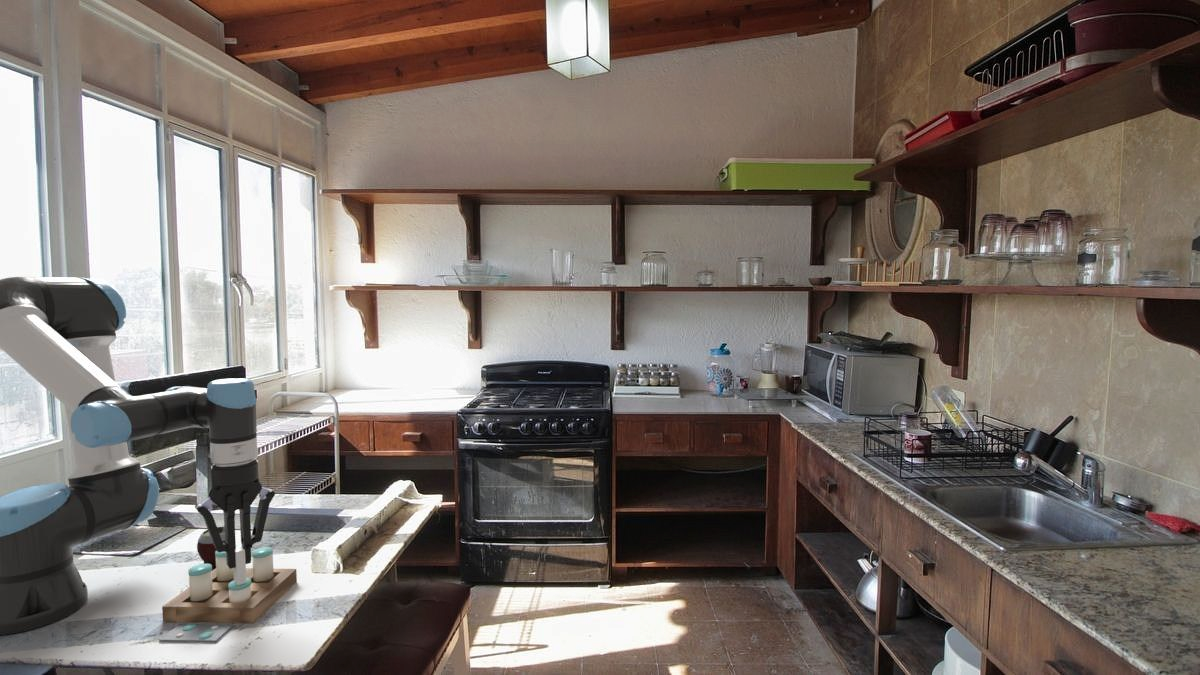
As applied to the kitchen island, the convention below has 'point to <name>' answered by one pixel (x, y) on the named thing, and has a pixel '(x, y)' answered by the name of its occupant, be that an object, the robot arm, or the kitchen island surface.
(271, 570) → the button
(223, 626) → the card
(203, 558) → the mate gourd
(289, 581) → the board
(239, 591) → the button
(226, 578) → the button
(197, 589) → the button
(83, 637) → the kitchen island surface
